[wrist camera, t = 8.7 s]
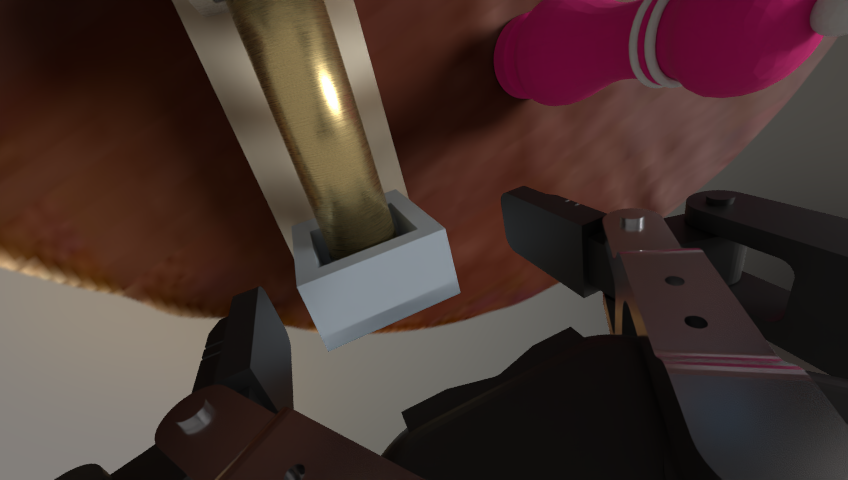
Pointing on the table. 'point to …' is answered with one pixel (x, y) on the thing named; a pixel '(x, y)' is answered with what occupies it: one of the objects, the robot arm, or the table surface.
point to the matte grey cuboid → (210, 7)
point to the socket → (374, 275)
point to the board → (256, 121)
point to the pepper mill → (660, 45)
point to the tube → (316, 118)
